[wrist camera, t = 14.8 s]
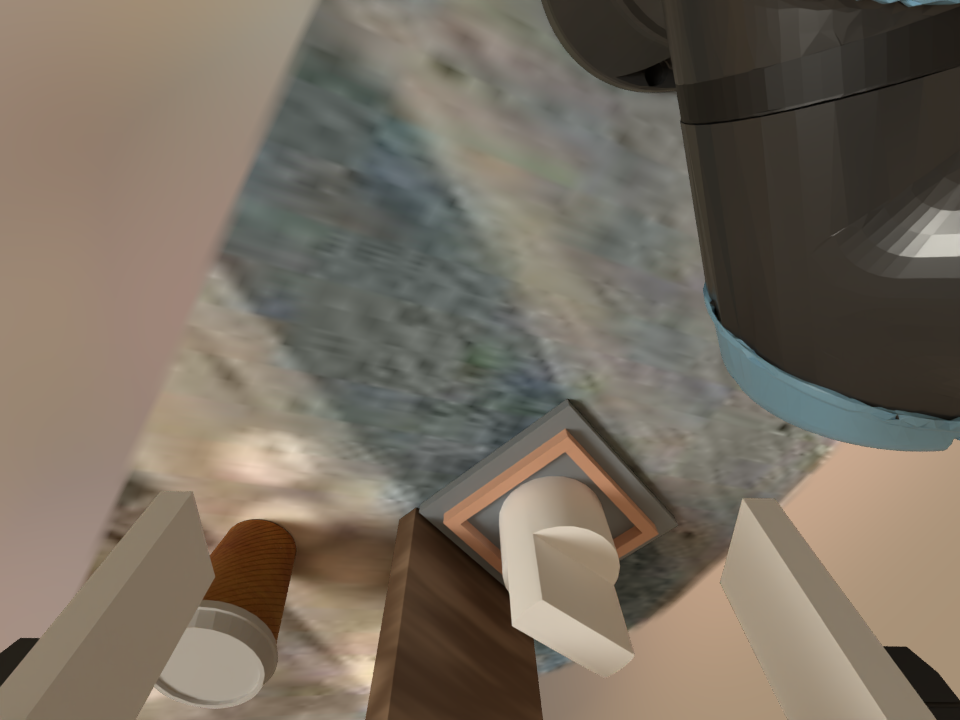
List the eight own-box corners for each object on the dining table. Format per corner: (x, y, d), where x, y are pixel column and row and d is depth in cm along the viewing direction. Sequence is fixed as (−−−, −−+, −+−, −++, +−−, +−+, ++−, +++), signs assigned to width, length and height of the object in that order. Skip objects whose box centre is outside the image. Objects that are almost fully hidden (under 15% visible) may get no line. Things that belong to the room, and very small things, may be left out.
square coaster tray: (567, 398, 44) (571, 412, 42) (674, 517, 49) (683, 535, 47) (420, 504, 48) (418, 522, 46) (533, 603, 53) (536, 623, 51)
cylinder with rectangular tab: (624, 511, 48) (670, 632, 37) (554, 573, 50) (577, 702, 40) (546, 457, 45) (571, 569, 34) (477, 525, 48) (479, 649, 37)
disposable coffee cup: (233, 487, 47) (162, 602, 36) (333, 534, 49) (294, 656, 39) (190, 558, 50) (113, 683, 39) (286, 599, 53) (238, 728, 42)
